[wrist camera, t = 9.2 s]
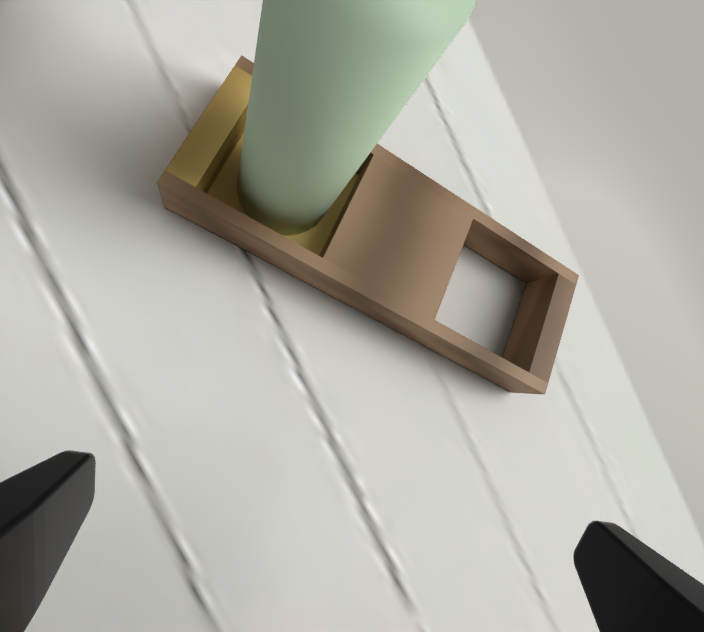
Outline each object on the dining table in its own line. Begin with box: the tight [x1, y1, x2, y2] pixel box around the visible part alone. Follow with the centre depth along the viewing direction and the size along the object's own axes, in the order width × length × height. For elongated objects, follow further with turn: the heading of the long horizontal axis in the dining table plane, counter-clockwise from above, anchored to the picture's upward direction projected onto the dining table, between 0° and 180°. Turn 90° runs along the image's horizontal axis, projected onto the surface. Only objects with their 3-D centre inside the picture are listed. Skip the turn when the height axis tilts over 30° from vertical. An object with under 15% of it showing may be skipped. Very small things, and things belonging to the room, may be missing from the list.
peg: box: [237, 0, 476, 235], centre depth 14 cm, size 4×4×12 cm
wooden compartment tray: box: [157, 55, 579, 394], centre depth 20 cm, size 20×7×2 cm, turn 65°
